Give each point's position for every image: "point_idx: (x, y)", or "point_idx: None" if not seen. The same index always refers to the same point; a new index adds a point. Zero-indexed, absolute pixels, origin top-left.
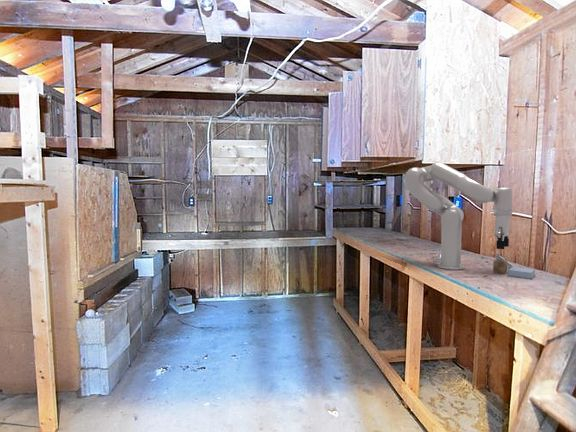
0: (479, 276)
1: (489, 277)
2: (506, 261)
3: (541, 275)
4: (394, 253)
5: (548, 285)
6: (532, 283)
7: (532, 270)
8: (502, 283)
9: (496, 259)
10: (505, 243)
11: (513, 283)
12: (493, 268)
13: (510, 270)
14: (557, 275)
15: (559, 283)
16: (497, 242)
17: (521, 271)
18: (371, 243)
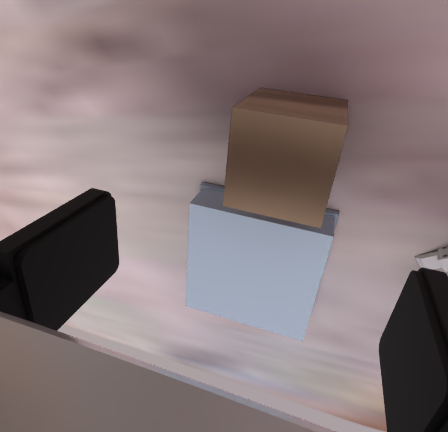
0: (71, 9)
1: (92, 79)
2: (276, 217)
3: (337, 344)
4: None
5: (126, 315)
6: (116, 270)
7: (260, 324)
8: (17, 153)
9: (344, 132)
10: (394, 357)
11: (56, 199)
12: (252, 95)
13: (189, 212)
14: (380, 406)
15: (191, 358)
16: (24, 243)
17: (187, 266)
18: None
